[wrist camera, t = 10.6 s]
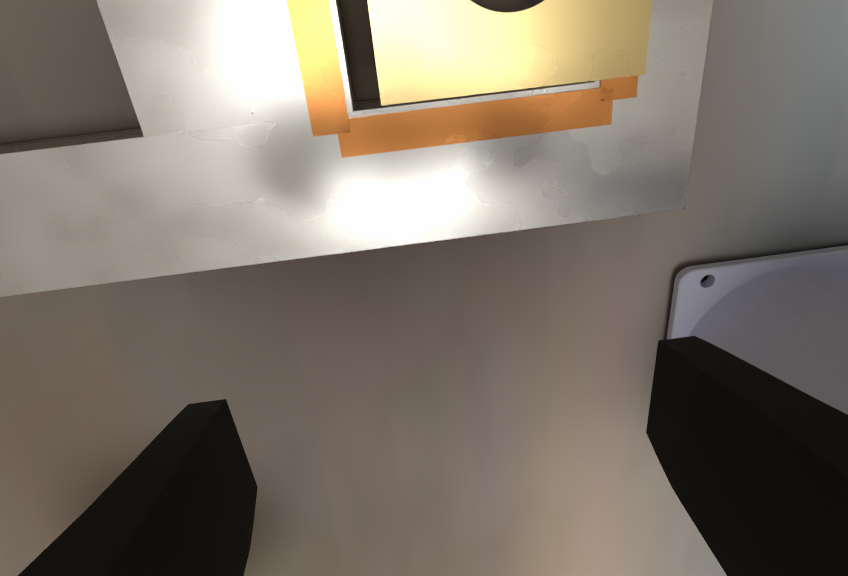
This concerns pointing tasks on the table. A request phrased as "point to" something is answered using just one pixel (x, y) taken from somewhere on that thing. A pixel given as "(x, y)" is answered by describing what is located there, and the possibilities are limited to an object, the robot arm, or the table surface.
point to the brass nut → (503, 44)
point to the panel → (328, 150)
